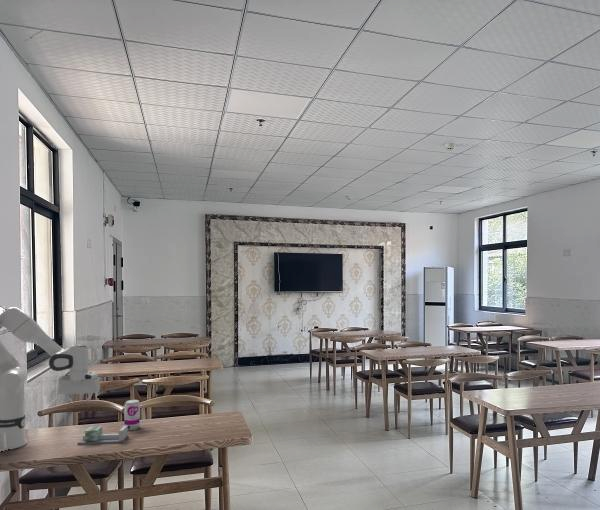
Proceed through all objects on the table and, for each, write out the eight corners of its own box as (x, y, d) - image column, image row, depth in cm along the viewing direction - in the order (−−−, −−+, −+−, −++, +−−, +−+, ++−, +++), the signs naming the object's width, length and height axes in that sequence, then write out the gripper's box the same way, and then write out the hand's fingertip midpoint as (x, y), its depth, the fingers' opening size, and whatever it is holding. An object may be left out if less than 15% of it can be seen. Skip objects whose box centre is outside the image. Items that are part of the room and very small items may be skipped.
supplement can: (139, 429, 245) (140, 402, 246) (124, 431, 242) (124, 403, 243) (139, 425, 253) (139, 398, 254) (124, 427, 250) (124, 400, 251)
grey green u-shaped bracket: (77, 444, 222) (77, 432, 222) (85, 438, 232) (85, 426, 232) (121, 443, 224) (122, 431, 224) (127, 436, 234) (128, 425, 234)
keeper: (84, 440, 224) (85, 430, 224) (90, 436, 231) (90, 426, 231) (96, 440, 224) (97, 430, 225) (101, 435, 231) (102, 426, 232)
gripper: (55, 377, 225) (55, 404, 224) (96, 375, 227) (96, 403, 226) (61, 374, 231) (61, 401, 231) (101, 373, 233) (100, 399, 232)
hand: (78, 402), depth 228 cm, fingers open, 8 cm apart
